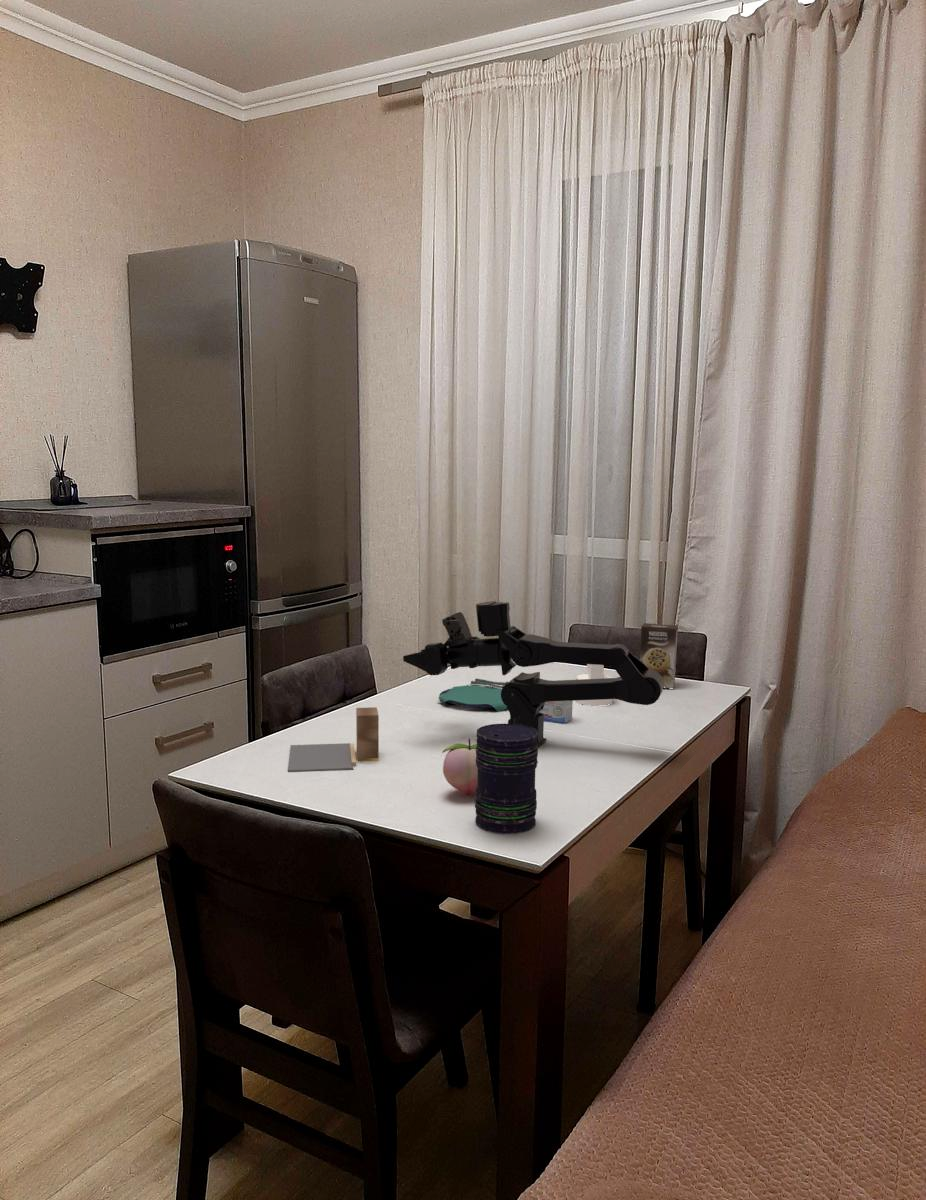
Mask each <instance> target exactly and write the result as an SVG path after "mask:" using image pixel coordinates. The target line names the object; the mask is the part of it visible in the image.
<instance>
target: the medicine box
mask: <svg viewBox="0 0 926 1200" xmlns="http://www.w3.org/2000/svg"><path fill="white" fill-rule="evenodd" d="M546 680H547V681H553V680H549V679H546ZM573 702H574V701H548V702H545V705H544V707H543V710H541V711H540V712H539V713H542V714H544V722H549V721H552V722H551V723H556V722H559V723H558V724H563V723H565V724H567V723H568V721H569V722H570V721H572V720H573V705H574V704H573ZM571 719H572V720H571ZM566 722H567V723H566Z"/></svg>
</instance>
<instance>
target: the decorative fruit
mask: <svg viewBox="0 0 926 1200" xmlns="http://www.w3.org/2000/svg"><path fill="white" fill-rule="evenodd" d="M476 746H477V743H471V738H468V743H454V744H451V745H449V746H446V748H444V749H443V750H442V751H441V753H446V752H447V751H448V752H447V753H446V755H445V757H444V759H443V763H442V764H443V765H442V772H443V776H444V779H445V780H446V782H447V783H448V784H449V785H450V786H451V787H453V788H454V789H456V790H457V791H459V792H461V793H463V794H465V795H466V796H467V795H469V796H470V795H471V796H472V795H474V794H475V793H476V788H477V777H478V767H477V766H476Z"/></svg>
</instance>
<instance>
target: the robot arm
mask: <svg viewBox="0 0 926 1200" xmlns="http://www.w3.org/2000/svg"><path fill="white" fill-rule="evenodd" d="M510 606H511V605H510V603H509V602H503V601H496V600H495V601H494V600H493V601H485V602H477V603H476V604H475V612H476V619H477V620H476V621H477V629H478V632H479V633H480V635H483V637H486V638H480V637H478V636H475V635H474V636H472V633H471V629H470V627H469V625H468V623H467V619H466V618H465V616H464V613H462V612H461V611H459V612H456V613H453V614H452V615H448V616H447V617H444V618H443V619H442V620H441V623H442V625H443V626H444V628H445V630H446V633H447V634H448V636H449V638H447V640H446V641H445V642H444V643H443V642H431V643H429V644H426V645H425V646H424V648H423V649H420V651H418V652H414V653H410V654H406V655H403V659H402V660H403V662H405V663H406V664H410V665H412V666H413V667H415V668H418V669H420V670H422V671H424V672H426V674H428V675H429V676H439V675H441V674H444V673H445V672H446V671H447V670H448V668H449V667H448V664H449V665H450V669H451V670H456V669H458V668H469V669H475V668H478V667H501V675H502V676H506V675H508V674H509V673H510V672H511V671H512V669H514V668H515V667H516V666H518V667H522V668H525V667H536V666H542V665H547V664H554V663H563V664H576V665H577V664H581V665H587V664H595V665H604V666H611V667H612V668H613V669H614V670H615V672H616V673H617V674H618V677H613V678H602V679H580V680H576V679H565V680H563V679H561V680H560V679H559V680H557V679H556V680H552V681H547V680H548V679H543V678H541V672H540V671H537V672H531V673H525V672H522V671H521V672H520V673H519V674H518V675H516V676H514V677H513V678H512V679H511V680H509V681H507V682H508V683H507V684H504V685H503V686H504V687H503V688H501V689H502V691H501V699H502V701H503V703H504V704H505V705H506V706H507V707H506V708H507V710H508V713H509V719H508V720H507V724H518V725H524V726H528V727H531V728H534V729H535V730H536V731H537V732H538V738H537V747H538V748H539V746H541V745H542V744H544V743H545V742H547V738H545V737H544V730H545V729H544V727H545V726H544V722H545V721H544V714H542V713H539V712H540V711H541V710H543V707H544V705H545V702H548V701H573V702H574V701H575V702H576V700H602V699H613V700H618V701H621V702H624V703H628V704H634V705H641V706H642V705H643V706H649V705H653V704H655V703H656V702H657V701H658V700H659V699H660V696H661V695H662V692H664V691H663V690H664V689H663V688H664V681H663V678H662V676H661V675H660V674H659V673H658V672H657V671H654V670H650V669H649V668H648V667H647V666H646V665H645V664H644V663H643V662H642V661H640V658H638V657H637V656H635V655H634V654H633V652H631V651H630V649H628V648H627V646H626V645H625V644H621V643H616V644H615V643H614V644H608V643H607V644H606V643H587V642H586V643H585V642H566V641H565V642H564V641H558V640H557V641H556V640H553V639H551V638H548V637H545V636H539V635H537V634H531V633H525V632H524V631H522V630H520V629H519V628H517V627H516V626H514V625H511V617H510V616H511V615H510V609H511V608H510ZM491 637H492V638H491Z"/></svg>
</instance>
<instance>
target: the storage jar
mask: <svg viewBox="0 0 926 1200" xmlns="http://www.w3.org/2000/svg"><path fill="white" fill-rule="evenodd" d="M476 738H477V739H476V744H477V746H476V766H477V767H478V777H477V788H476V793H474V794H475V799H474V807H475V817H474V818H475V825H476V826H477V827H478V828H479V829H481V830H482V831H485V832H488V833H493V834H499V835H517V834H521V833H522V834H523V833H525V832H529V831H531V830H533V829H534V828H535V826H536V823H537V822H536V820H537V819H536V814H537V806H538V805H537V804H538V802H537V789H536V769H537V767H538V763H539V761H538V756H539V746H538V747H537V738H538V732H537V731H536V730H535V729H534V728H531V727H528V726H524V725H518V724H508V723H493V724H488V725H487V724H486V725H483V726H481V727H479V728H477V729H476Z"/></svg>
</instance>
